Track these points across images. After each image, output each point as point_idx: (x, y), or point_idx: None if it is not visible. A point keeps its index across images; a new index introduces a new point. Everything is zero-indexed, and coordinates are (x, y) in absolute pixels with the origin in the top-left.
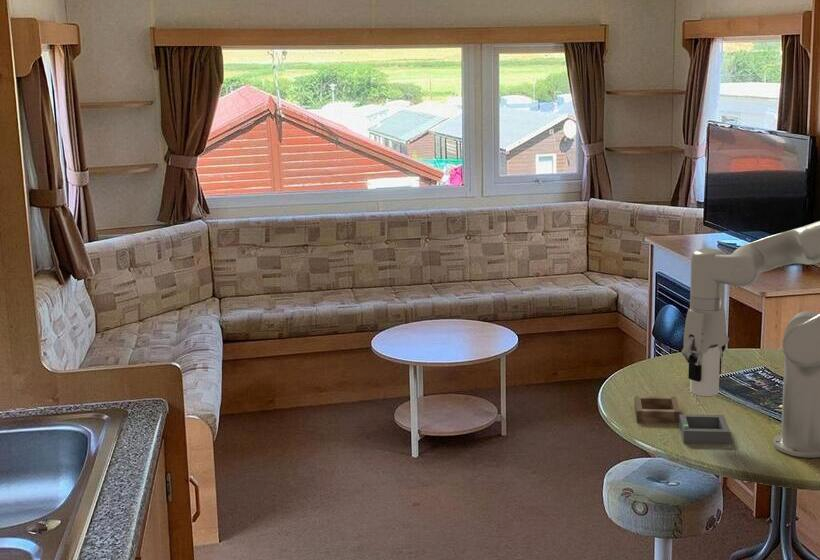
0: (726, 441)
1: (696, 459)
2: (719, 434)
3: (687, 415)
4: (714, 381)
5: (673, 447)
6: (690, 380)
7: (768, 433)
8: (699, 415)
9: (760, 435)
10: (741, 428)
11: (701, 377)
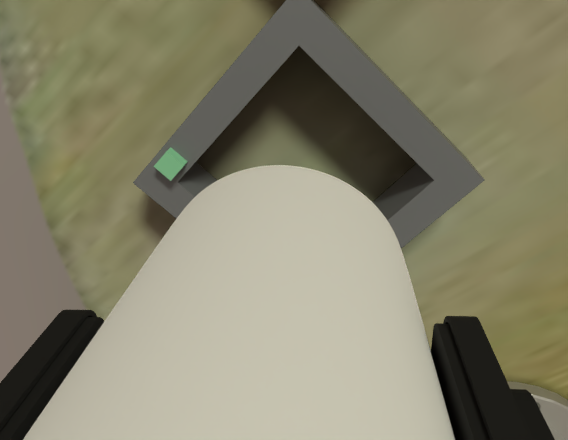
0: None
1: (90, 294)
2: None
3: (321, 39)
4: None
5: (84, 164)
6: (149, 257)
7: (532, 326)
8: (375, 90)
9: (486, 317)
10: (507, 224)
11: None
